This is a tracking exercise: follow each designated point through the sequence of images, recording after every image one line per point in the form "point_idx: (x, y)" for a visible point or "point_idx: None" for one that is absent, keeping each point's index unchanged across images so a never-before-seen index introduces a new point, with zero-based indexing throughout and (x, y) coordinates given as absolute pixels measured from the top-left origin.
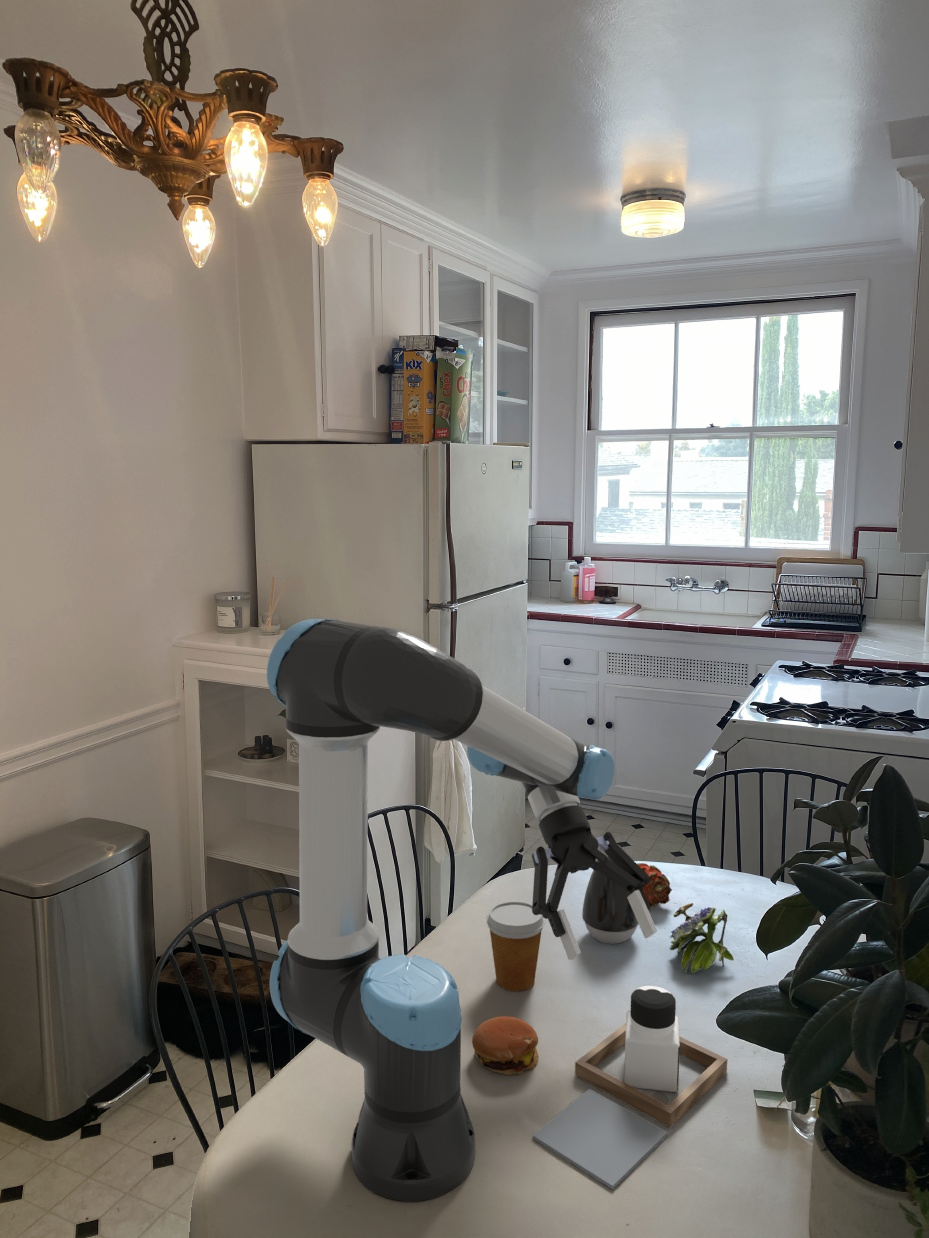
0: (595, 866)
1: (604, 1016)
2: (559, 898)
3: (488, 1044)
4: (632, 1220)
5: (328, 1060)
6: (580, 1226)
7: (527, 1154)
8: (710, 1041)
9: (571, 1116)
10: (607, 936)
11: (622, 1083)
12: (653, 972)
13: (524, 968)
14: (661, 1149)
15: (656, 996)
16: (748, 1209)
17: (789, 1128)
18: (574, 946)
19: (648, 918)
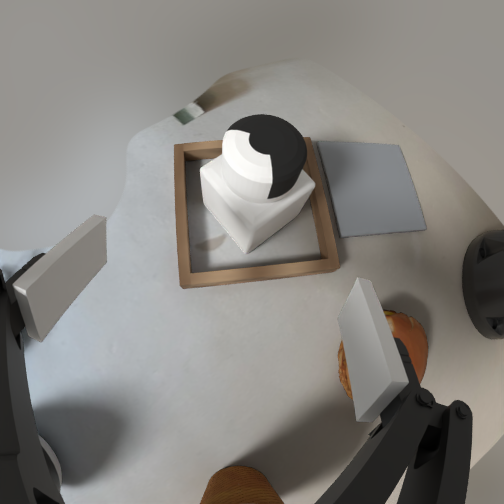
0: (54, 497)
1: (195, 341)
2: (398, 423)
3: (426, 348)
4: (399, 125)
5: (484, 439)
6: (431, 148)
7: (435, 220)
8: (134, 199)
9: (385, 219)
10: (50, 451)
11: (319, 198)
12: (51, 358)
13: (253, 481)
14: (334, 139)
15: (268, 133)
16: (320, 76)
17: (212, 85)
18: (372, 292)
19: (81, 233)
